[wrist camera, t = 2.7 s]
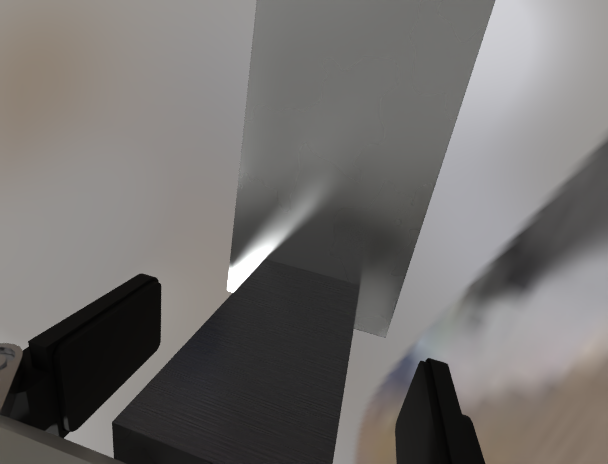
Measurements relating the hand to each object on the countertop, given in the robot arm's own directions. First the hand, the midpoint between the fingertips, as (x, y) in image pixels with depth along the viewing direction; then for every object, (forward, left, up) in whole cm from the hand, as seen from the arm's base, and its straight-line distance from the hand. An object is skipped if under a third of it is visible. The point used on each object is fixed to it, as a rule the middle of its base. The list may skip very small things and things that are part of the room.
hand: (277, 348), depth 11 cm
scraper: (+6, 0, -4) cm, 7 cm away
